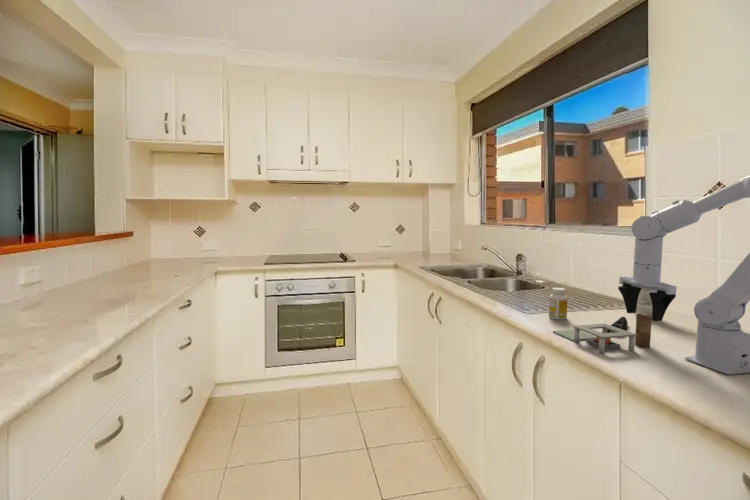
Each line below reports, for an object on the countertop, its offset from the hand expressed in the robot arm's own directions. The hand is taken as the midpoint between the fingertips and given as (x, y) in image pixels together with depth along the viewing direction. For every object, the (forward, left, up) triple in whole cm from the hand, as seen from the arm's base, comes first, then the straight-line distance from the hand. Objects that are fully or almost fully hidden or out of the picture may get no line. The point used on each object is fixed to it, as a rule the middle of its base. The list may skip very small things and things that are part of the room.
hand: (643, 316), depth 99 cm
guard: (+2, +10, -8) cm, 13 cm away
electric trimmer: (+13, -5, -8) cm, 16 cm away
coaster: (+11, +11, -8) cm, 17 cm away
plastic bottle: (+23, -25, -8) cm, 35 cm away
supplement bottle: (+29, +3, -8) cm, 30 cm away
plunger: (+2, +10, -8) cm, 13 cm away
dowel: (0, 0, -8) cm, 8 cm away
